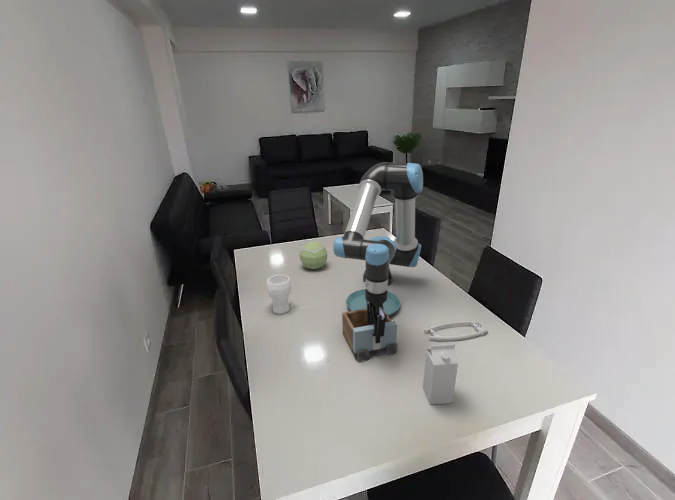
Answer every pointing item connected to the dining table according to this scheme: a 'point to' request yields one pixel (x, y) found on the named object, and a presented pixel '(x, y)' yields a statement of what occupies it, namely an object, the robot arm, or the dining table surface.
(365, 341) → the door
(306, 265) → the decorative sphere
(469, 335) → the door handle
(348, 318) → the cabinet
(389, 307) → the saucer
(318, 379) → the dining table surface
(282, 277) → the cup
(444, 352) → the milk carton
